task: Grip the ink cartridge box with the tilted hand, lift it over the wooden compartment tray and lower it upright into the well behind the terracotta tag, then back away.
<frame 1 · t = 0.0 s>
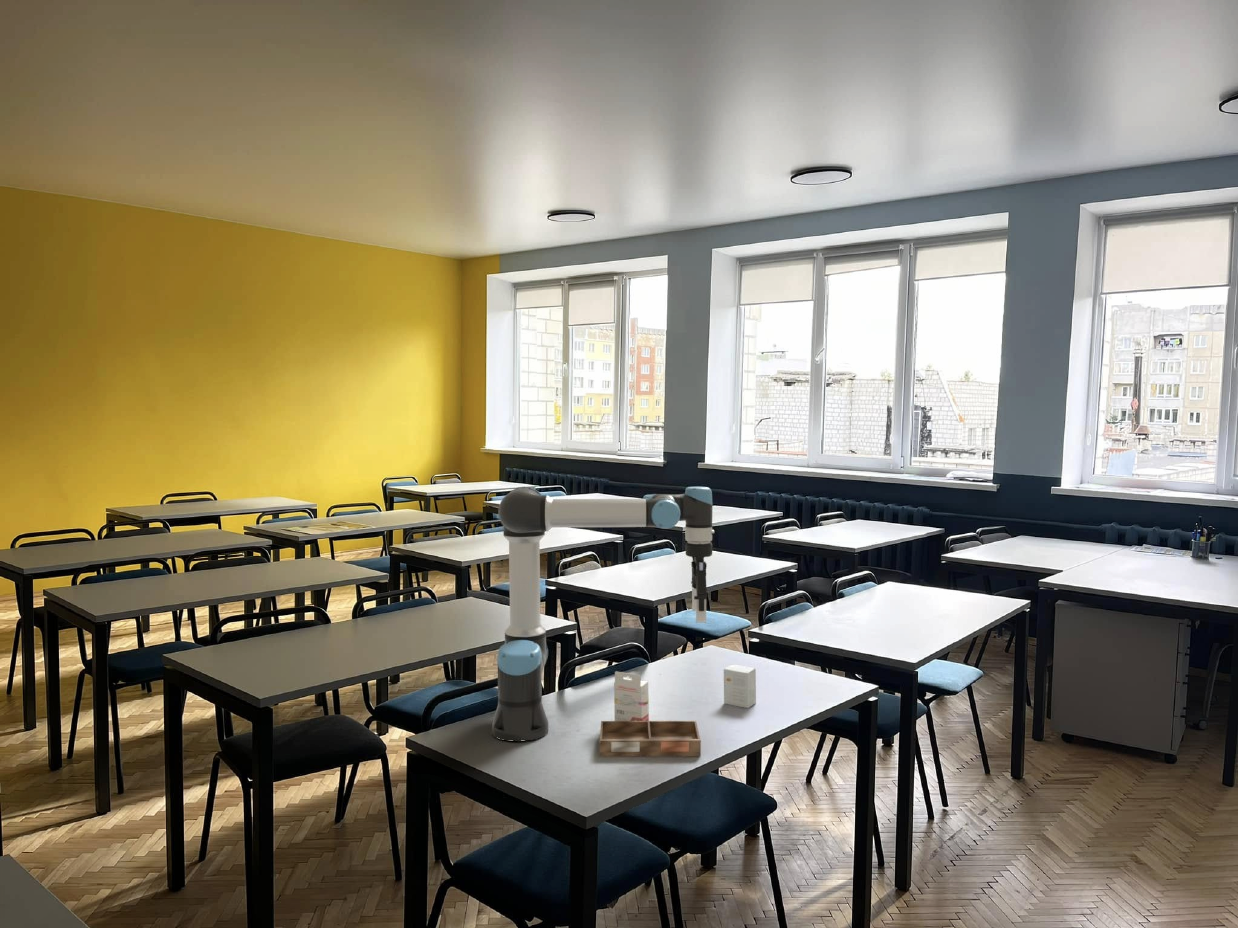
hand: (698, 616, 237), 28 cm above the table, tool pointing down, fingers open, 13 cm apart
wooden compartment tray: (649, 745, 215), on the table
small box: (739, 704, 247), on the table
ink cartridge box: (631, 724, 231), on the table
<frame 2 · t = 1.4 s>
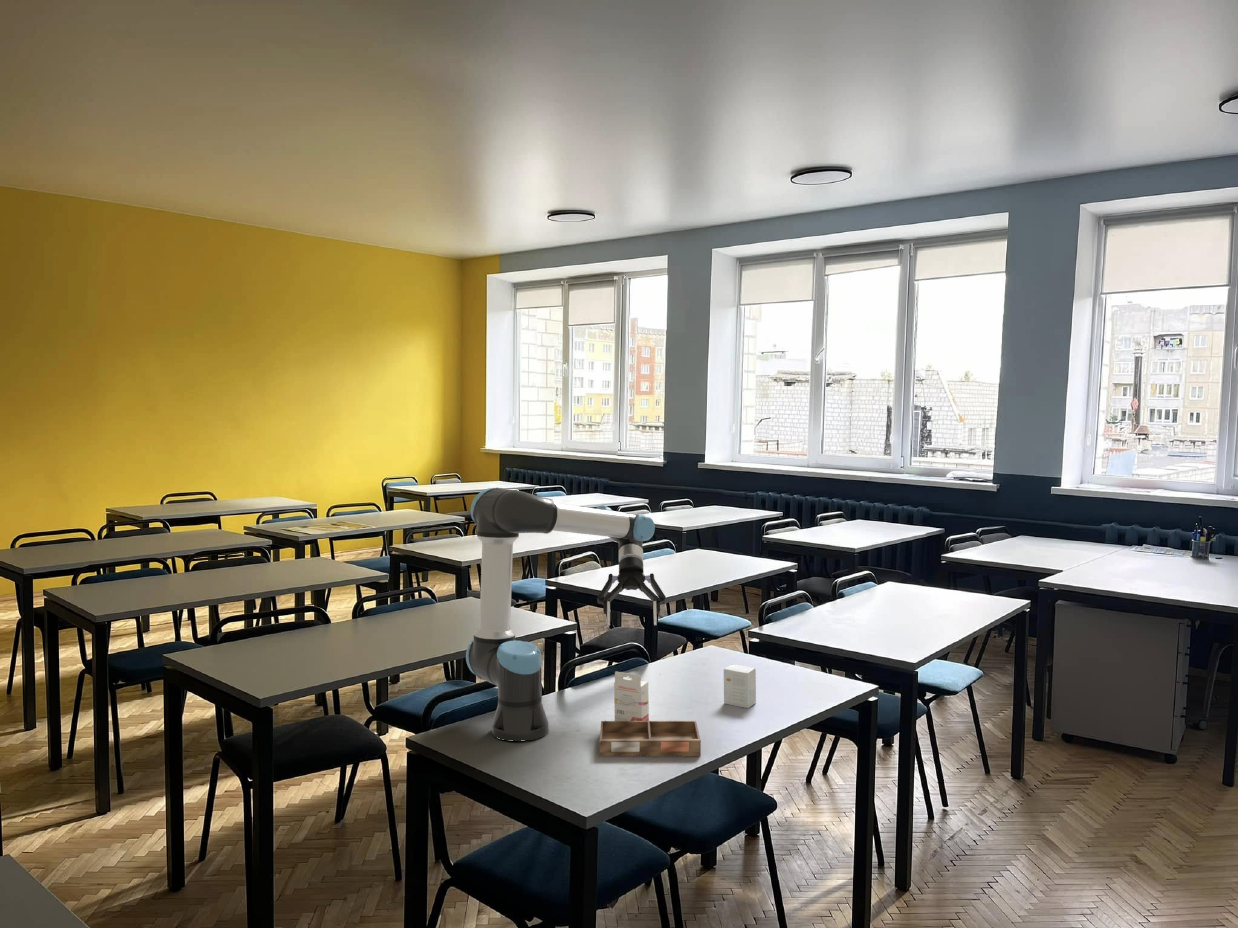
hand: (631, 623, 243), 25 cm above the table, tool tilted 45°, fingers open, 13 cm apart
nothing on the table moved.
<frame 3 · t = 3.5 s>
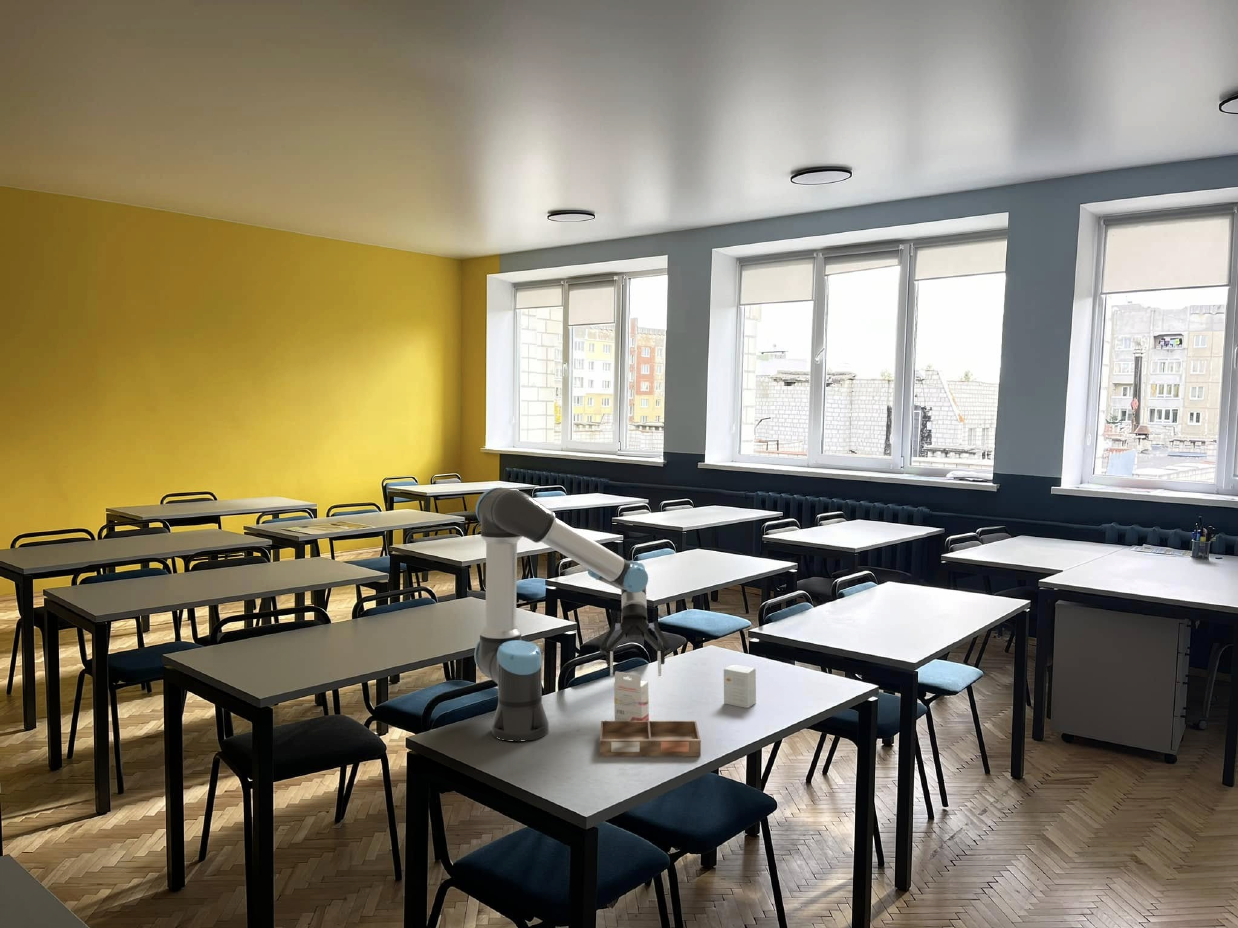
hand: (635, 674, 236), 12 cm above the table, tool tilted 45°, fingers open, 13 cm apart
nothing on the table moved.
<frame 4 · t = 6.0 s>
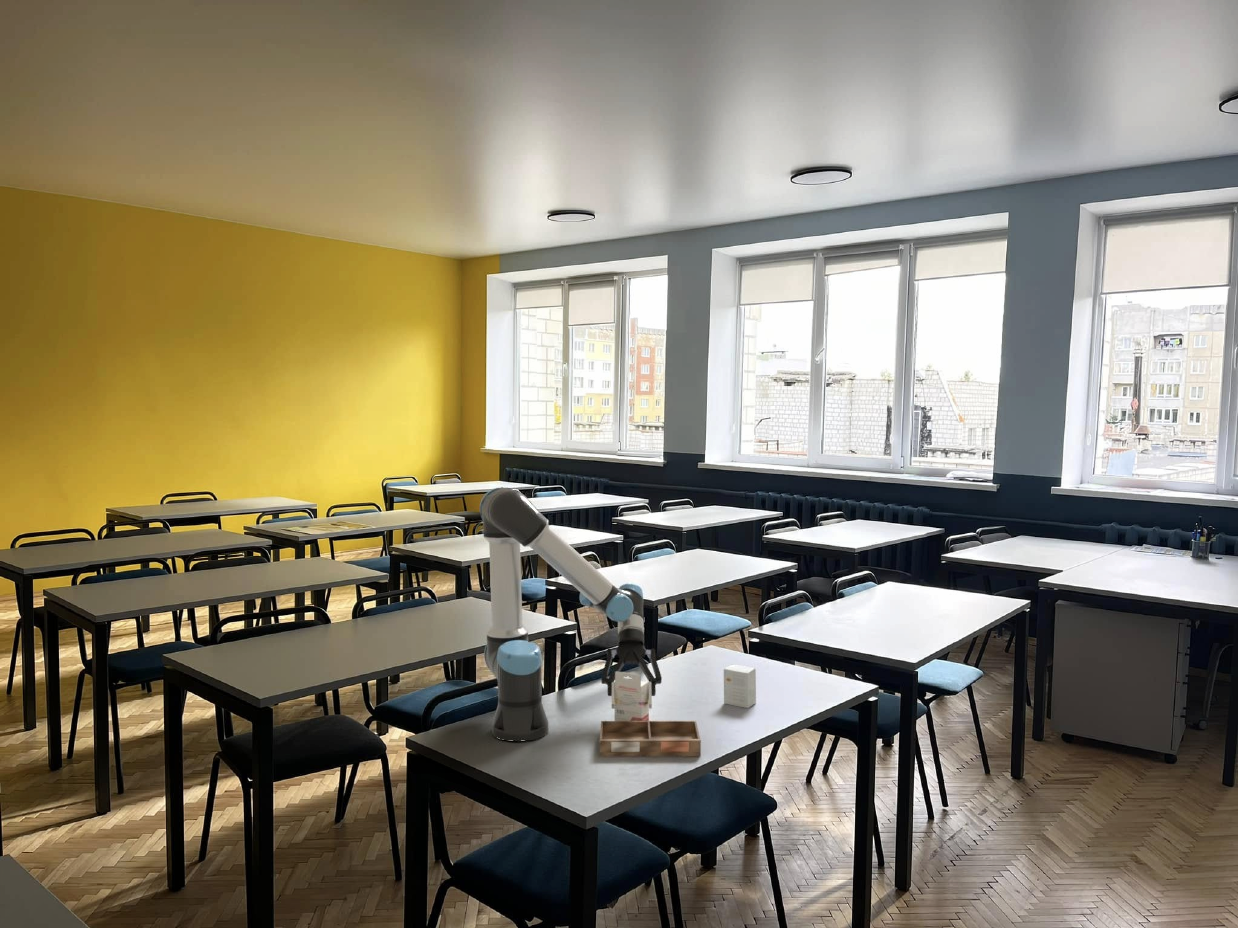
hand: (631, 706, 228), 6 cm above the table, tool tilted 45°, fingers closed on ink cartridge box, 9 cm apart
ink cartridge box: (631, 724, 231), on the table, touching gripper
everything else where it was.
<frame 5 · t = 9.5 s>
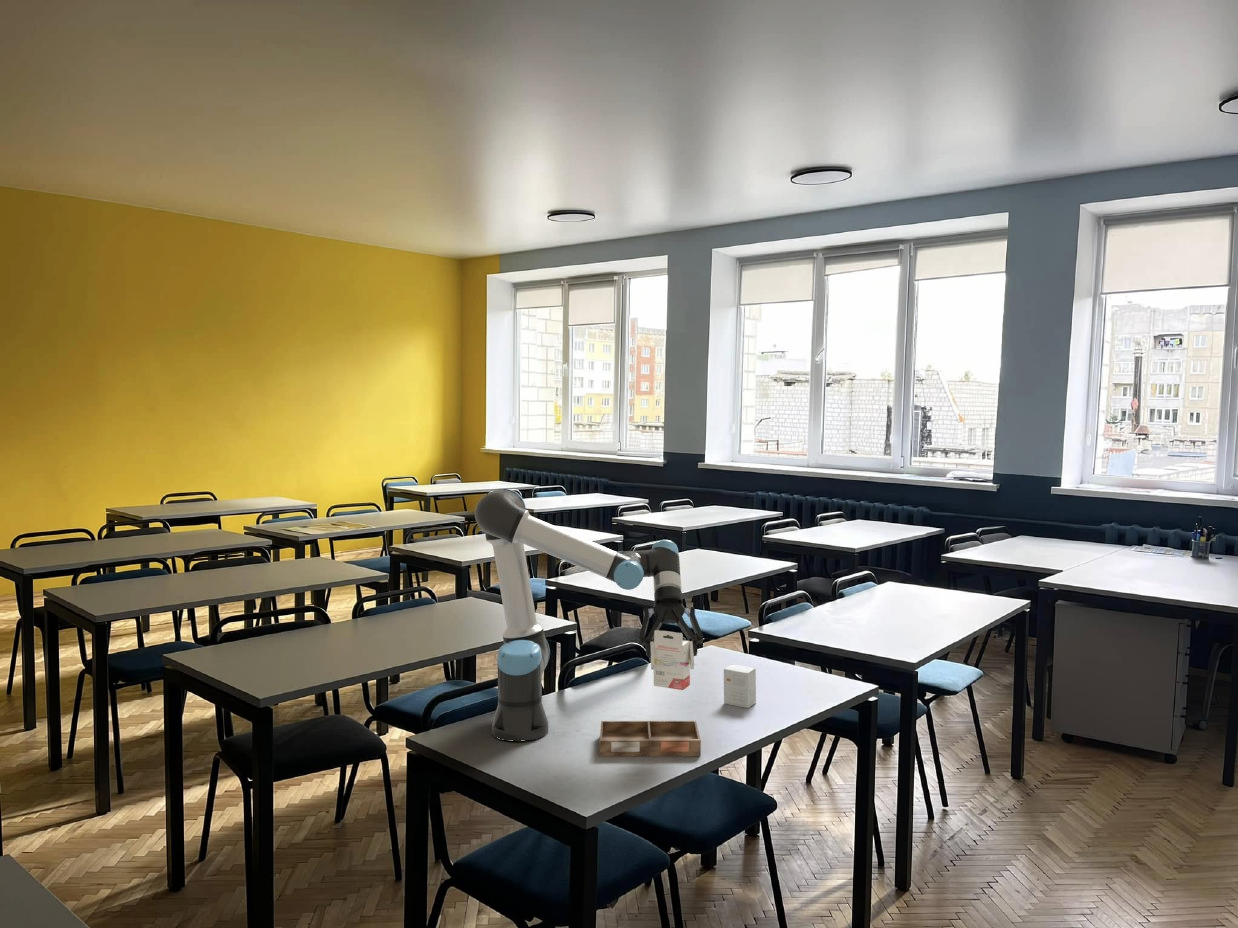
hand: (672, 666, 213), 21 cm above the table, tool tilted 45°, fingers closed on ink cartridge box, 9 cm apart
ink cartridge box: (671, 686, 217), point 15 cm above the table, touching gripper
everything else where it was.
when the fingers open (8 cm above the table, at t = 13.3 s): ink cartridge box drops 1 cm, resting on wooden compartment tray.
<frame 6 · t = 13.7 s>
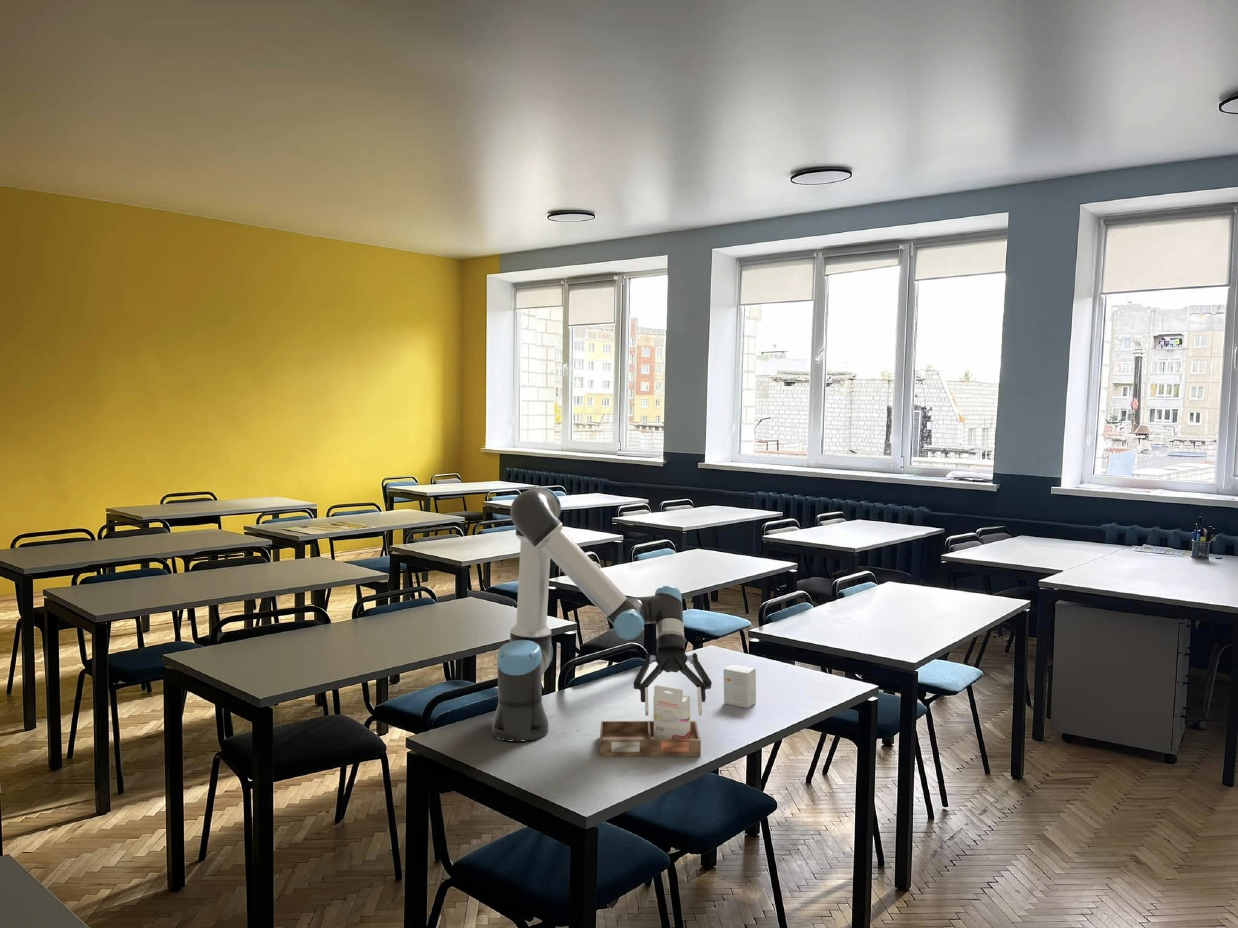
hand: (673, 713, 213), 9 cm above the table, tool tilted 45°, fingers open, 13 cm apart
ink cartridge box: (672, 741, 216), point 1 cm above the table, touching wooden compartment tray
everything else where it was.
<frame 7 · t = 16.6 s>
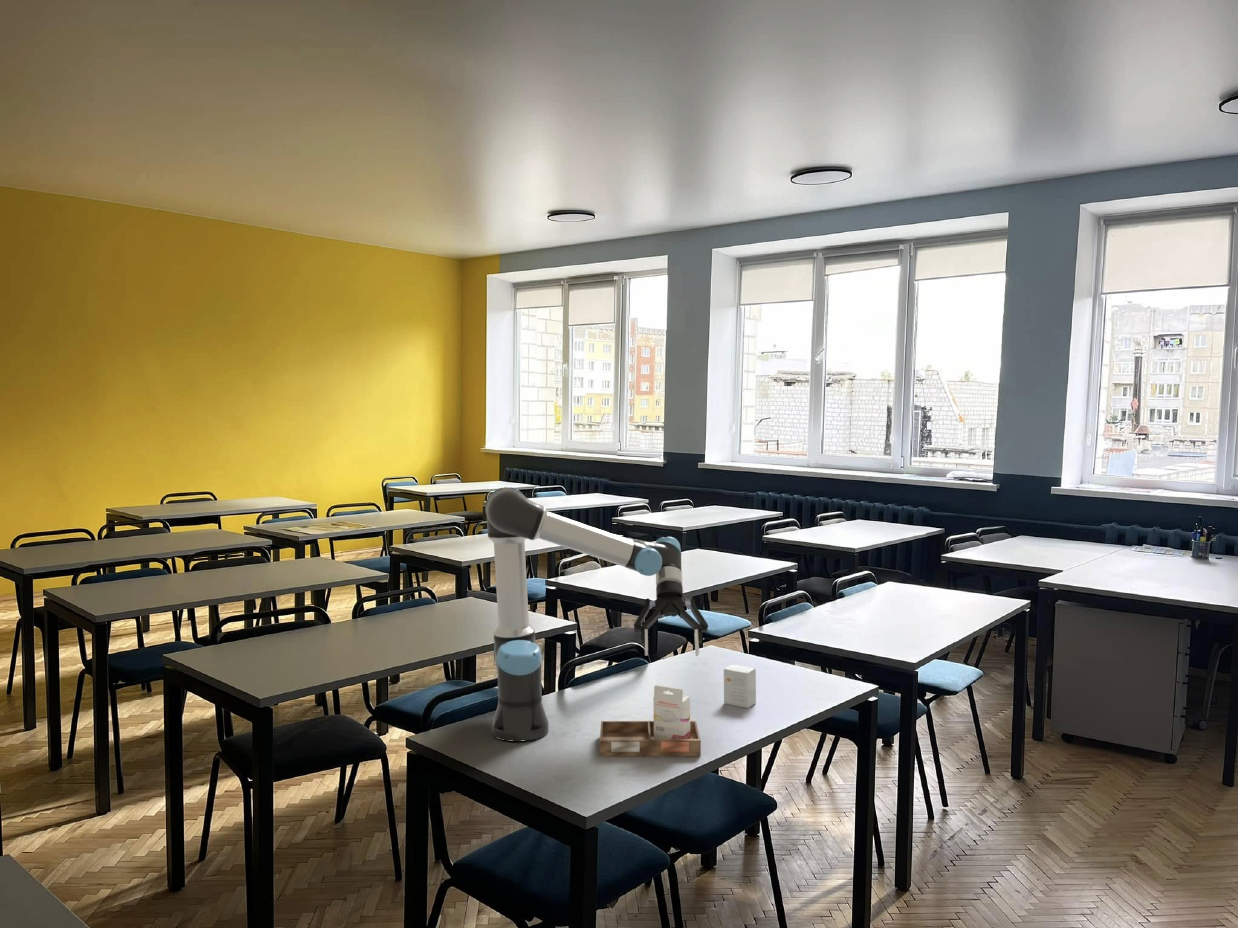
hand: (671, 653, 224), 21 cm above the table, tool tilted 45°, fingers open, 13 cm apart
nothing on the table moved.
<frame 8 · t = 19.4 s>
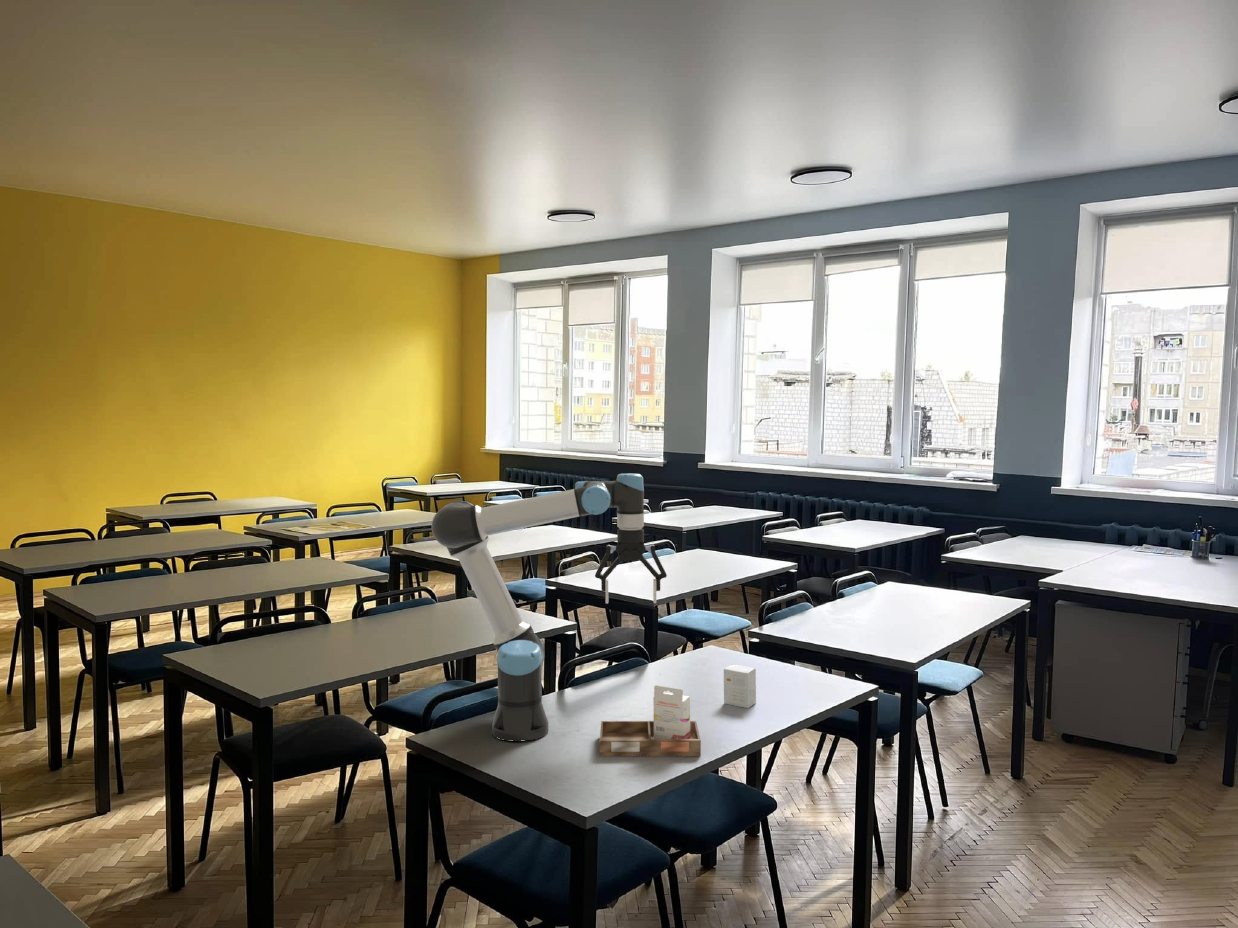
hand: (630, 602, 238), 32 cm above the table, tool pointing down, fingers open, 13 cm apart
nothing on the table moved.
at the end: ink cartridge box 0.3 cm from the target spot on the wooden compartment tray, point 0.8 cm above the wooden compartment tray's base; ink cartridge box tilted 0°; the gripper is holding nothing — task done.
